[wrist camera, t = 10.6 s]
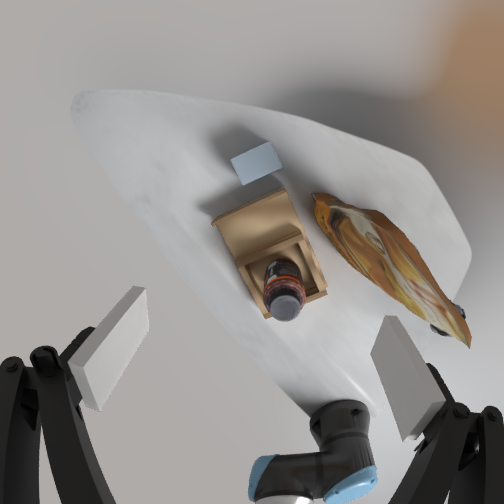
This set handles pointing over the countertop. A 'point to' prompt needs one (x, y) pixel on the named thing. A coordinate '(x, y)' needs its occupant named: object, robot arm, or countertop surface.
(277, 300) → the supplement bottle
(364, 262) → the pancake mix bag
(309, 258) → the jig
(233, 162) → the wing block
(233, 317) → the countertop surface
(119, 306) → the robot arm
